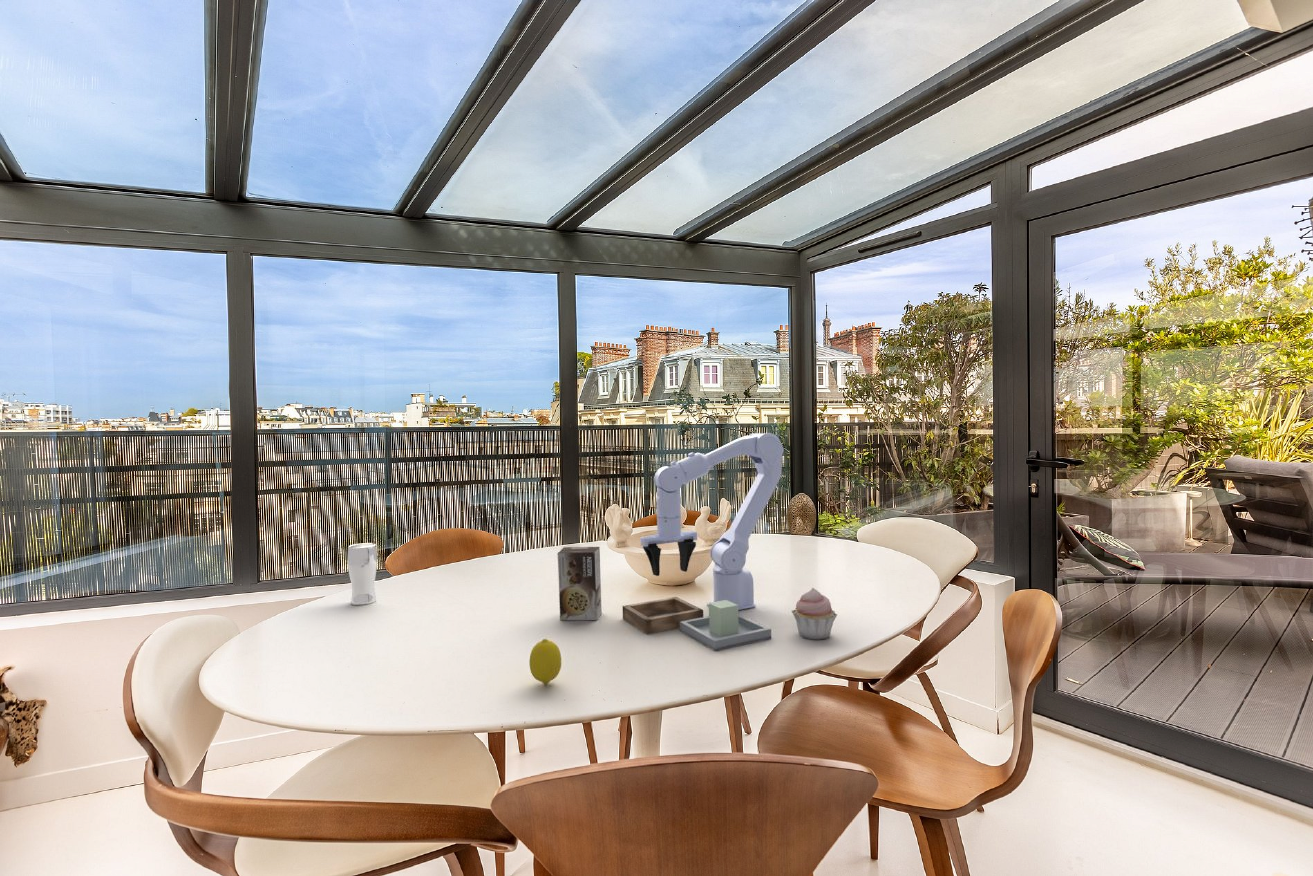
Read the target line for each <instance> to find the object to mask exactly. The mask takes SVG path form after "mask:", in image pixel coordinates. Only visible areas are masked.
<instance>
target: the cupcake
mask: <svg viewBox="0 0 1313 876" xmlns="http://www.w3.org/2000/svg"><path fill="white" fill-rule="evenodd" d="M835 612H836V611H835V610H833V608H832V604H831V602H830V599H829V598H828V597H827V596H825V595H824V594H822V593H821V592H820V591H818V590H817V589H815V588H814V587H811V589H810V590H809V591H807V592H804V594H802V595H801V596H800V599H799V600H797V602H796V604H795V609H793V610H791V613H792V615H793V617H794V619H795V623H796V626H797V627H796V628H797V630H798V634H799V635H800V636H801V637H802V638H805V639H807V640H808V639H809V640H825V639H828V638H830V636H831V633H832V629H833V626H834V625H833V624H834V621H835V620H836V618H837V616H838V613H835Z"/></svg>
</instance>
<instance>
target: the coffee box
mask: <svg viewBox="0 0 1313 876" xmlns="http://www.w3.org/2000/svg"><path fill="white" fill-rule="evenodd" d="M600 551H601V550H600V546H566V547H565V546H563V548H561V549H560V551H558V552H557V555H556V556H557V569H558V570H557V571H558V592H559V593H558V595H559V597H558V598H559V601H558V602H559V621H597V620H598V619H599V618H600V616H601V614H602V613H603V612H602V584H601V583H602V582H601V557H600V556H601V555H600V554H601V553H600Z"/></svg>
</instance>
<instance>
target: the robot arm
mask: <svg viewBox="0 0 1313 876" xmlns="http://www.w3.org/2000/svg"><path fill="white" fill-rule="evenodd" d="M784 452H785V449H784V447H783V444H782V442H781V440H780V438H779V437H778V436H777V435H775V434H774V433H770V432H765V433H760V432H753V433H751V434H750V433H749V435H745V436H740V437H739V438H736V439H734V440H732V441H731V442H728V443H727V444H724V445H722V446H720V447H718V448H716V449H714V450H712V451H710V452H707V453H706V454H703V453H700V452H696V453H695V452H690V453H688V454H687V457H685V458H682V459H681V460H678V461H674V460H673V461H671V462H670V466H666V465H665V466H662V467H660V468H658V469H657V471H656V472H655V474H654V477H653V483H654V484H655V486H656V521H657V522H656V524H657V525H656V526H657V527H656V528H657V530H656V531H657V532H656V533H657V534H652V535H647V536H640V546H642V549H643V550H644V553H645V554H646V556H647V558H648V560H649V563H650V564H649V565H650V567H651V572H652V575H653V576H656V577H660V574H661V569H660V567H661V566H660V561H661V560H660V559H661V552H662V548H661V547H659V545H664V544H665V545H666V544H672V543H677V547H678V552H679V553H678V554H679V568H680V571H682V572H684V573H686V572H688V568H689V563H690V561H691V560H690V559H691V558H692V554H693V553H694V551H695V548H696V547H697V542H696V541H698V531H697V532H696V531H682V516H681V515H682V514H681V512H682V511H681V508H682V507H681V488H682V486H683V485H686V484H688V483H689V484H690V483H691V482H692V481H693V482H694V481H695V480H697V479H700V478H702V477H703V476H706V475H708V474H709V472H710V469H711V468H712V467H714V466H716V465H718V464H721V463H724V462H726V461H728V460H731V459H733V458H736V457H738V456H740V455H741V456H748V457H749V458H750V459H751V461H752V462H753V464H754V466H755V468H756V471H757V475H756V477H755V479H754V481H753V482H752V484H751V487H750V488H749V490H748V493H747V495H746V496H745V498H744V500H743V502H742V504H741V506H740V508H739V510H738V512H737V513H736V515H735V517H734V519H733V521H732V523H731V525H730V527H729V528H728V529H727V530H726V531H725V532H723V533H722V535H721V537H720V538H719V539H718V540H717V541H716V542H714V543H713V544H712V545H711V548H710V551H709V552H710V553H709V555H710V558H711V560H712V561H713V563H714V566H713V568H712V572H713V573H712V575H713V579H712V580H713V582H712V583H713V586H712V587H713V601H710V602H707V603H706V605H707V606H709V603H712V602H718V601H723V600H727V601H730V602H732V603H734V604H737V605H738V611H739V610H740V611H741V610H745V609H752V608H756V606H757V605H756V604H755V603H754V602H755V601H754V600H755V599H754V596H755V595H754V592H755V591H754V578H753V575H752V573H751V571H750V570H749V569H748V568H744V567H745V564H746V561H747V553H748V551H749V550H750V549H749V547H750V546H749V544H750V543H749V540H750V537H751V535H752V533H753V531H754V529H755V527H756V525H757V524H758V522H759V520H760V518H761V516H762V513H763V512H764V511H765V508H766V507H767V504H768V502H769V501H770V498H771V497H772V495H773V493H774V490H775V489H776V487H777V485H778V483H779V481H780V479H781V476H782V473H783V472H782V468H783V466H782V464H783V461H782V460H783V459H782V458H783V457H782V456H783V454H784Z"/></svg>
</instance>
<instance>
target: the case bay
mask: <svg viewBox="0 0 1313 876" xmlns="http://www.w3.org/2000/svg"><path fill="white" fill-rule="evenodd" d="M673 612H674V613H673ZM667 613H668V614H667ZM659 614H664V615H659ZM655 615H657V616H655ZM648 616H651V617H648ZM652 616H653V617H652ZM701 617H704V609H702V608H701V607H699V606H696V605H695V604H692V603H690V602H688V601H685V600H684V599H682V598H679V597H677V596H674V597H673V596H672V597H668V598H667V597H666V598H661V599H656V600H655V599H654V600H650V601H644V602H639V603H638V602H637V603H632V604H627V605H622V619H623V620H624V621H626V622H628V623H629V624H631V625H632V626H633V627H635V628H636V629H638V630H640V631H641V632H643V633H644V634H646V635H649V634H654V633H659V632H663V631H664V632H665V631H669V630H674V629H680V622H681V621H686V620H691V619H696V618H701Z"/></svg>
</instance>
